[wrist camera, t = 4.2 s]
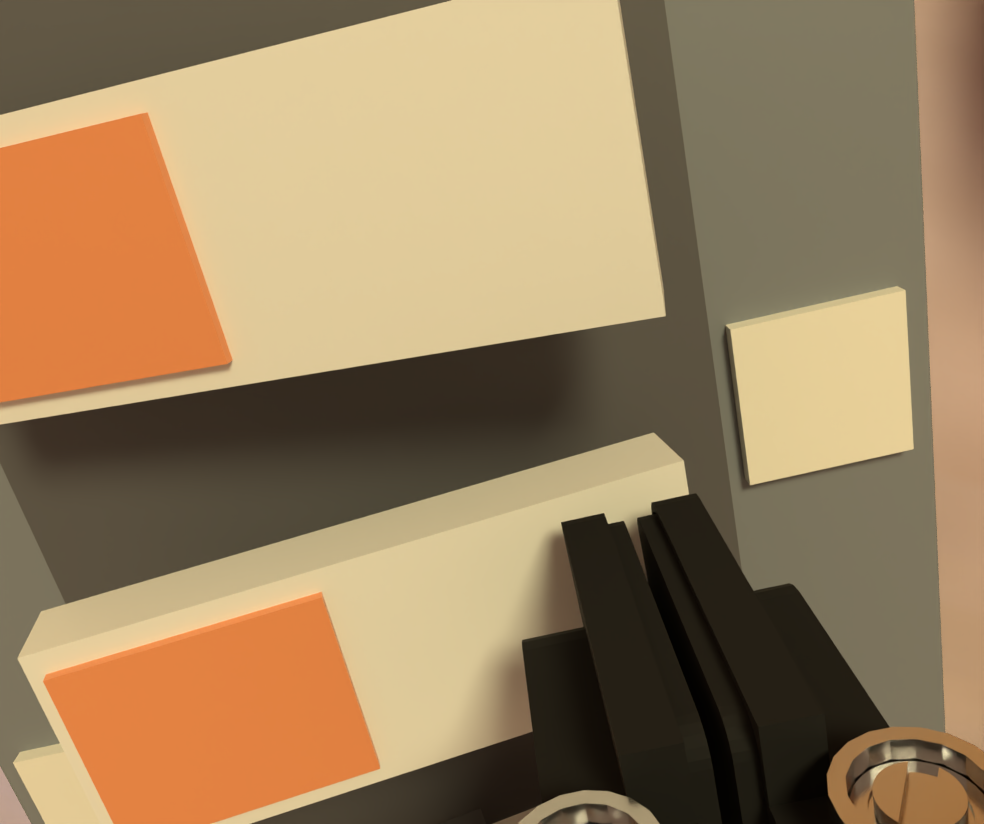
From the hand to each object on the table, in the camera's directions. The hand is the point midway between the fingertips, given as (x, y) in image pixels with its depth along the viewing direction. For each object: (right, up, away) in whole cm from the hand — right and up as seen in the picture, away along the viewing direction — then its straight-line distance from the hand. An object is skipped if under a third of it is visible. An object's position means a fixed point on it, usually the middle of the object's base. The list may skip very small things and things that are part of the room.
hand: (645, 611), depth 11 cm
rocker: (-4, +5, 0) cm, 7 cm away
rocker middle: (-3, 0, +2) cm, 4 cm away
